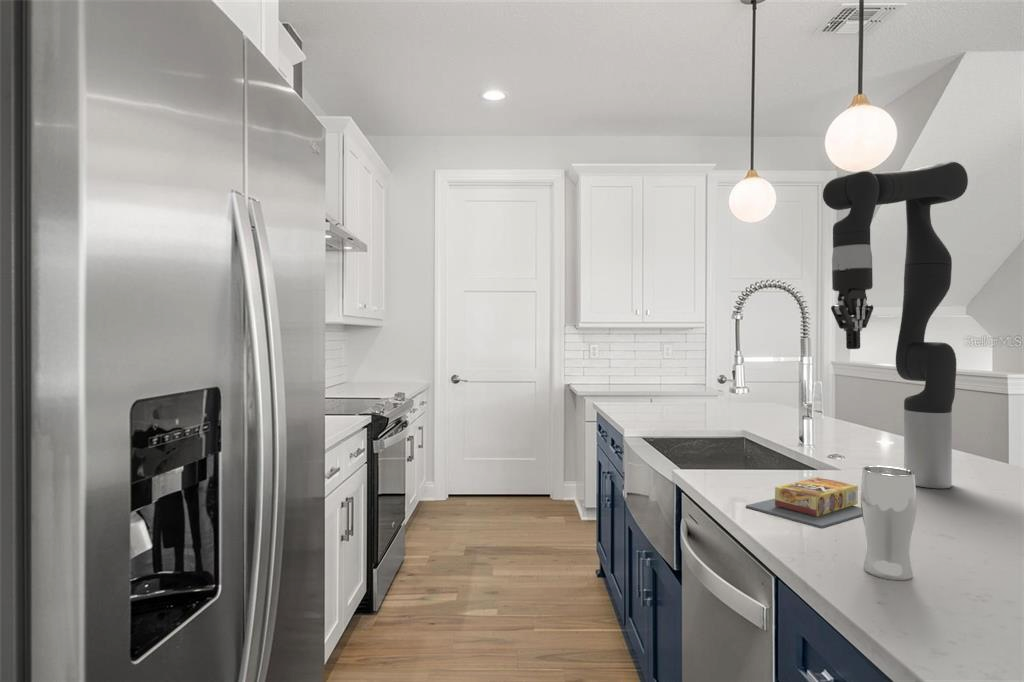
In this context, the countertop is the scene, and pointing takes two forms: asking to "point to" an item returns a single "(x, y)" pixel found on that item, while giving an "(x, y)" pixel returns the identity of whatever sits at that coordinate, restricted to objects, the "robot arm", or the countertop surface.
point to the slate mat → (818, 521)
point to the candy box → (816, 496)
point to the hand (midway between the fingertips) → (853, 348)
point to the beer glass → (888, 520)
